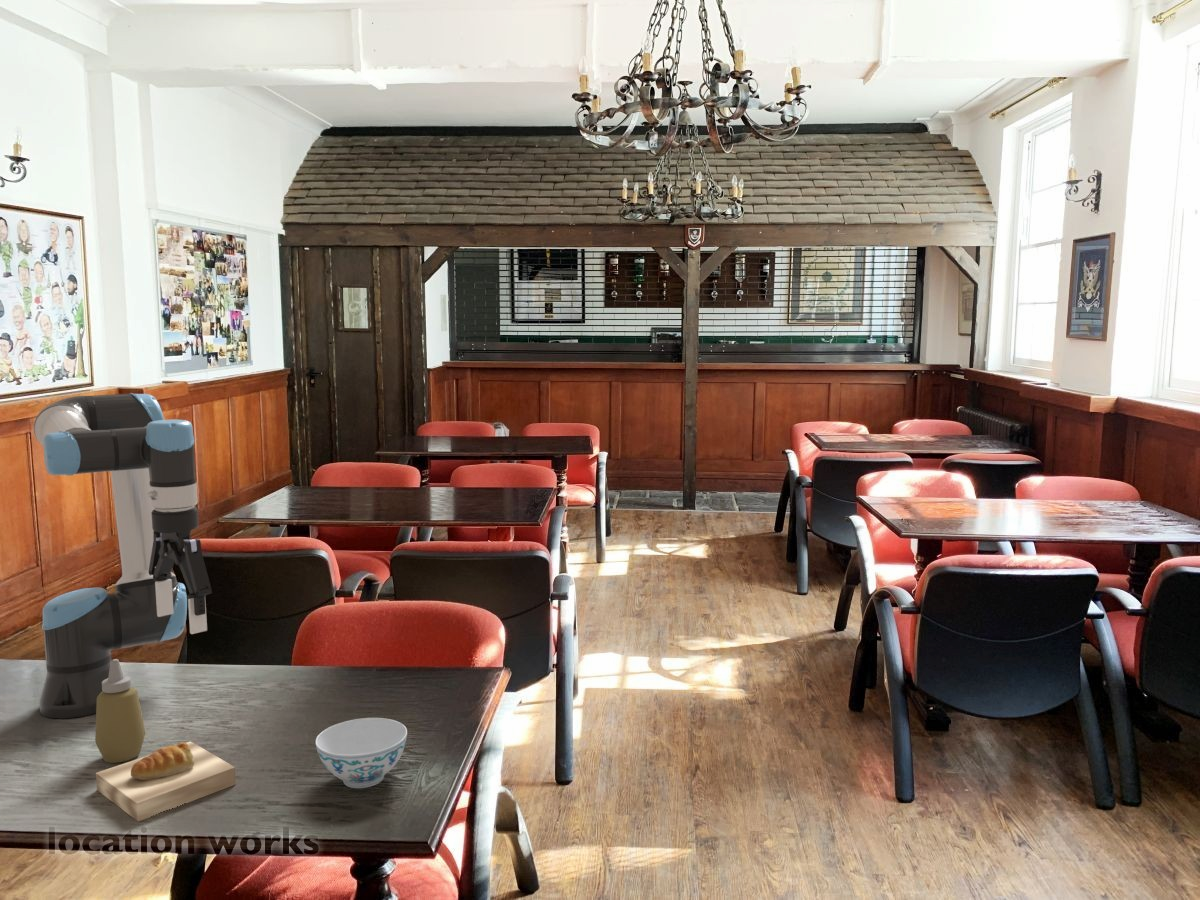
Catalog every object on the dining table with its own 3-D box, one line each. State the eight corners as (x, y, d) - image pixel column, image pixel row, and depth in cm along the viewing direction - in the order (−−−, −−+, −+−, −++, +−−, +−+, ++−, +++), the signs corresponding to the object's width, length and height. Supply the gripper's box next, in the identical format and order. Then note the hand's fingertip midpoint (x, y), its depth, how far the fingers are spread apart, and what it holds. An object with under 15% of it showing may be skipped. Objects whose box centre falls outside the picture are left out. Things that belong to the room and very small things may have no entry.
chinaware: (333, 759, 166) (331, 717, 165) (417, 759, 166) (416, 717, 165) (304, 800, 151) (302, 755, 150) (396, 800, 151) (394, 755, 150)
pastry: (139, 788, 150) (137, 765, 150) (125, 774, 155) (123, 752, 154) (198, 768, 157) (197, 746, 156) (182, 756, 161) (181, 735, 161)
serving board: (97, 790, 156) (95, 773, 155) (191, 757, 168) (190, 741, 167) (138, 821, 145) (136, 803, 145) (236, 784, 157) (234, 767, 157)
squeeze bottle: (98, 751, 170) (91, 656, 168) (147, 743, 174) (141, 650, 171) (94, 770, 163) (86, 670, 161) (145, 761, 166) (138, 663, 164)
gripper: (124, 500, 171) (132, 612, 174) (184, 521, 154) (191, 645, 157) (165, 495, 176) (172, 603, 179) (228, 514, 160) (234, 634, 163)
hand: (181, 623), depth 168 cm, fingers open, 13 cm apart
